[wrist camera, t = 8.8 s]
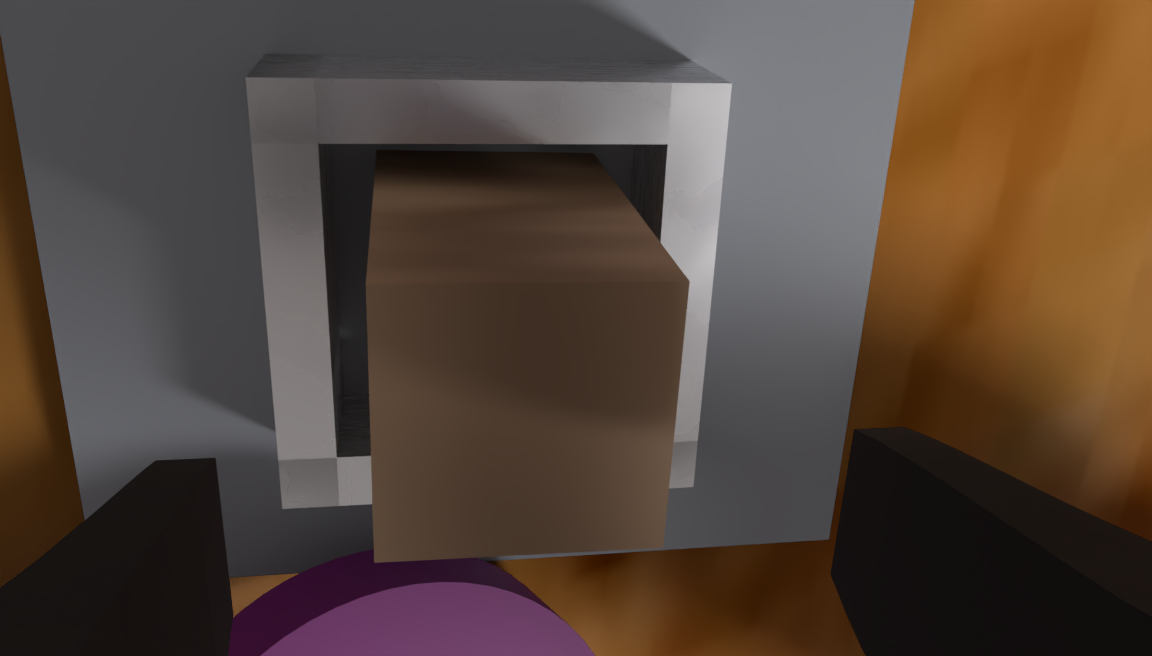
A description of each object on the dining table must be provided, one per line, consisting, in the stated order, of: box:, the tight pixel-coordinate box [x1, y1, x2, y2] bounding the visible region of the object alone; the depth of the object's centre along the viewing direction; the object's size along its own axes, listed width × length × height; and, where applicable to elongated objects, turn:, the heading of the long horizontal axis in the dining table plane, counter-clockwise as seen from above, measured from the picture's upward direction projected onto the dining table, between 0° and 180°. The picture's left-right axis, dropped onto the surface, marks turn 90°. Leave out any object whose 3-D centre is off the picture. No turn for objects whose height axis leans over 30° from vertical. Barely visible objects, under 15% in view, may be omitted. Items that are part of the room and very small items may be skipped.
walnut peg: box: [366, 150, 690, 563], centre depth 16 cm, size 4×4×7 cm
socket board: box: [0, 0, 915, 578], centre depth 19 cm, size 16×14×3 cm
